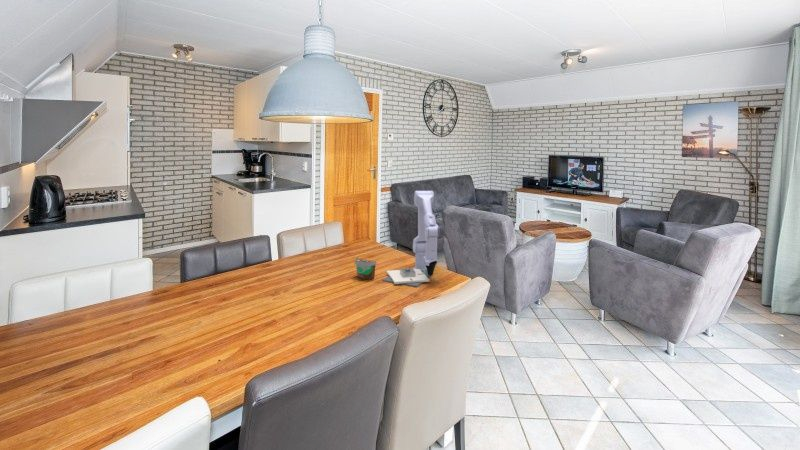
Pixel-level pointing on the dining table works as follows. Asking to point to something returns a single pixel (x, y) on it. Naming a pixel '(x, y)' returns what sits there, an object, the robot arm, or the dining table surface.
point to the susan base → (405, 283)
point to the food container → (365, 269)
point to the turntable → (399, 279)
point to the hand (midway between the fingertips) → (430, 275)
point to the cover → (407, 272)
